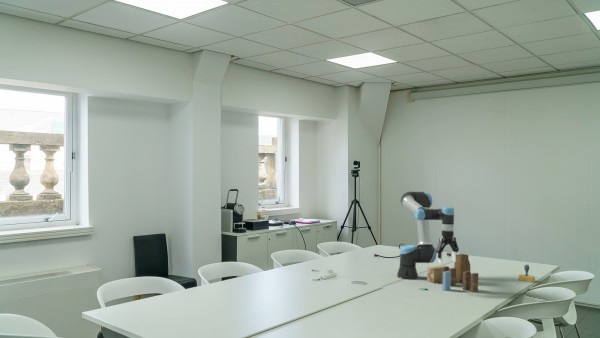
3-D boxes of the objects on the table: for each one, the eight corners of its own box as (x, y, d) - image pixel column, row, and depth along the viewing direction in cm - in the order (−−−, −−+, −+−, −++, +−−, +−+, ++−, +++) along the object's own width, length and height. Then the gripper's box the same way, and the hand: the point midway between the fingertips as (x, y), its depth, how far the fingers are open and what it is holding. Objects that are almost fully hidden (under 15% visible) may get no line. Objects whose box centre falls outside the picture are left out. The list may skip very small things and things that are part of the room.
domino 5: (470, 291, 303) (470, 273, 303) (475, 290, 306) (475, 272, 306) (473, 292, 302) (473, 274, 302) (478, 291, 304) (478, 273, 304)
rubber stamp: (534, 281, 339) (535, 264, 339) (533, 282, 334) (533, 266, 335) (520, 279, 345) (520, 263, 345) (518, 280, 341) (518, 264, 341)
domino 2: (442, 289, 307) (442, 271, 307) (447, 289, 309) (447, 271, 309) (445, 290, 305) (445, 272, 305) (450, 289, 307) (450, 271, 307)
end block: (427, 281, 330) (427, 267, 330) (438, 279, 337) (438, 265, 337) (433, 283, 325) (433, 269, 325) (445, 281, 332) (445, 267, 332)
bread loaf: (460, 284, 324) (461, 255, 324) (452, 281, 331) (453, 253, 331) (471, 282, 329) (472, 254, 329) (463, 280, 336) (464, 253, 336)
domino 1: (441, 283, 324) (441, 266, 324) (446, 283, 326) (446, 266, 326) (444, 284, 322) (444, 267, 322) (448, 283, 324) (449, 266, 325)
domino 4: (462, 289, 308) (463, 271, 309) (467, 288, 311) (468, 271, 311) (465, 290, 307) (465, 272, 307) (470, 289, 309) (470, 271, 309)
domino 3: (448, 285, 319) (448, 268, 319) (453, 284, 321) (453, 267, 321) (450, 286, 317) (451, 269, 317) (455, 285, 319) (456, 268, 319)
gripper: (439, 232, 297) (438, 264, 297) (464, 230, 311) (464, 261, 311) (430, 230, 304) (429, 262, 304) (455, 228, 317) (454, 259, 317)
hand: (447, 262), depth 307 cm, fingers open, 13 cm apart
